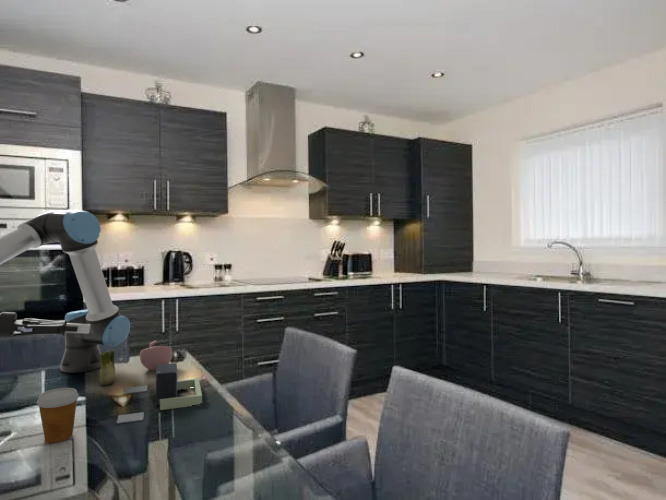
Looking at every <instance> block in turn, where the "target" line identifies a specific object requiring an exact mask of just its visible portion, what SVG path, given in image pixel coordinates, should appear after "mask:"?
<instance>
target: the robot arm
mask: <svg viewBox="0 0 666 500" xmlns="http://www.w3.org/2000/svg"><path fill="white" fill-rule="evenodd" d="M101 229H102V228H101V224H100V221H99V219H98V218H97V217H96V216H95V215H94V214H93V213H91V212H89V211H86V210H80V209H68V210H49V211H45V212H44V213H41V214H39V215H36V216H33V217H32V218H30V219H28V220H26V221H25V222H22V223H20V224H19V225H18V226H17V229H16V230H13V231H11V232H9V233H7V234H5V235H3V236H0V265H2V264H4V263H6V262H7V261H10V260H11V259H13V258H15V257H17V256H19V255H21V254H22V253H24V252H26V251H28V250H30V249H31V248H33V249H38V248H40V247H41V246H43V245H47V244H53V243H59V244H60V247H61V250H62V252H63V253H64V254H67V255H68V256H69V258H70V262H71V265H72V267H73V270H74V273H75V276H76V280H77V282H78V285H79V289H80V290H81V294H82V298H83V300H84V302H85V306H86V309H81V310H76V311H74V310H73V311H70V312H67V313H66V314H64V315H65V316H64V320H62V321H60V320H53V319H52V320H51V319H50V320H49V319H42V318H41V319H39V318H34V317H29V318H27V317H26V318H25V317H24V318H23V319H18V314H17V312H13V311H2V312H0V338H1V339H12V337H14V335H15V332H17V333H18V332H19V333H20V334H23V335H25V336H27V335H62V336H64V341H65V342H64V343H65V345H64V346H65V348H64V353H63V356H62V359H61V361H60V366H59V367H60V371H61V372H63V373H67V374H68V373H69V374H71V373H72V374H75V373H76V374H77V373H83V372H90V371H94V370H98V369H101V356H100V354H102V352H101V349H100V347H99V345H100V346H101V345H102V346H107V347H110V346H115V347H116V346H119V345H120V344H122V343H123V342H124V341H125V340H126V339H127V338H128V336H129V333H130V330H131V321H130V319H129V318H128V317H126V316H125V315H121V313H120V308H119V306H117V305H115V304H113V301H112V298H111V295H110V292H109V289H108V285H107V282H106V280H105V276H104V272H103V270H102V266H101V263H100V260H99V256H98V253H97V251H96V248H97V245H98V244H99V242H98V239H99V237H100V234H101V231H102V230H101Z"/></svg>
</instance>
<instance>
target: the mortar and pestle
mask: <svg viewBox="0 0 666 500" xmlns="http://www.w3.org/2000/svg"><path fill="white" fill-rule="evenodd" d="M157 343H158V341H157V340H154V341H152V342H150V343H149V345H148V346H149V347H146V348H143V349H141V351H140V352H139V360H140V364H141V365H143V367H144V368H145V369H147V370H150V371H157V366H158V364H171V363H170V362H171V361H172V358H173V349H172V347H171V346H169V345H158V346H156V345H155V344H157Z"/></svg>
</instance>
